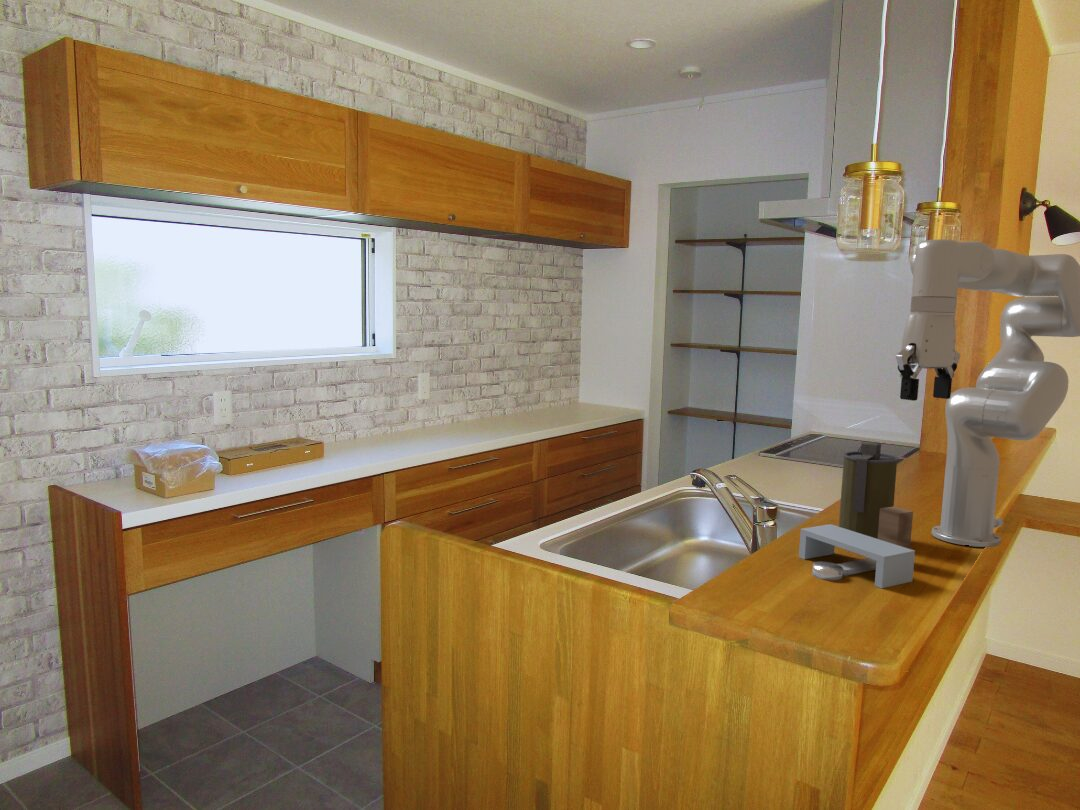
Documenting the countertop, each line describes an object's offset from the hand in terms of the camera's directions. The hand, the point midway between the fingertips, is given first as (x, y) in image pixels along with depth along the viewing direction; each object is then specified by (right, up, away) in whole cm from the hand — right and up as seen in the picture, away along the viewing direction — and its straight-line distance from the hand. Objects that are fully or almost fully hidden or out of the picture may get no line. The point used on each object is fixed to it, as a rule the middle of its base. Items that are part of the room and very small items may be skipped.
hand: (925, 398), depth 142 cm
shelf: (-16, -31, -6) cm, 35 cm away
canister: (-6, -29, +13) cm, 32 cm away
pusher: (-12, -31, -4) cm, 33 cm away
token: (-22, -31, -10) cm, 40 cm away
